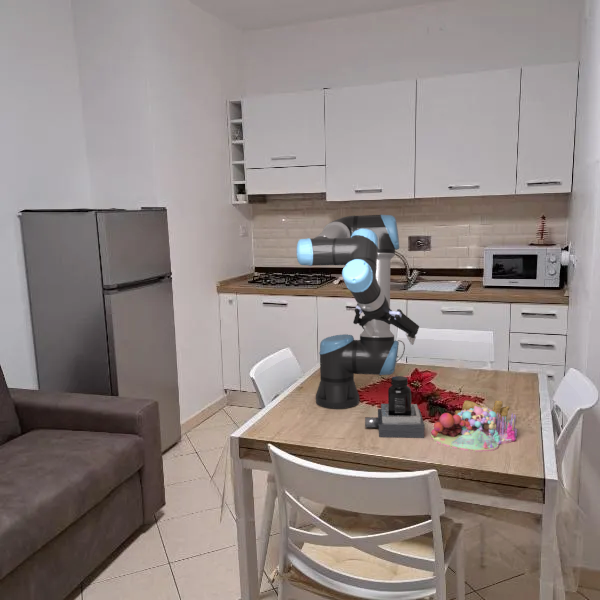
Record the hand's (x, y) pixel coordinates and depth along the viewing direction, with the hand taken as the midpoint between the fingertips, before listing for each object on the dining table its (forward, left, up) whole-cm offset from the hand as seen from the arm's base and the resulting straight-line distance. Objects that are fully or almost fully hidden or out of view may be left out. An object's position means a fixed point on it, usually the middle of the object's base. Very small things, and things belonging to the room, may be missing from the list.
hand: (392, 337), depth 169 cm
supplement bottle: (+2, -5, -24) cm, 24 cm away
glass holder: (+1, +56, -28) cm, 62 cm away
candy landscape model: (+23, -8, -28) cm, 37 cm away
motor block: (0, -5, -27) cm, 28 cm away
